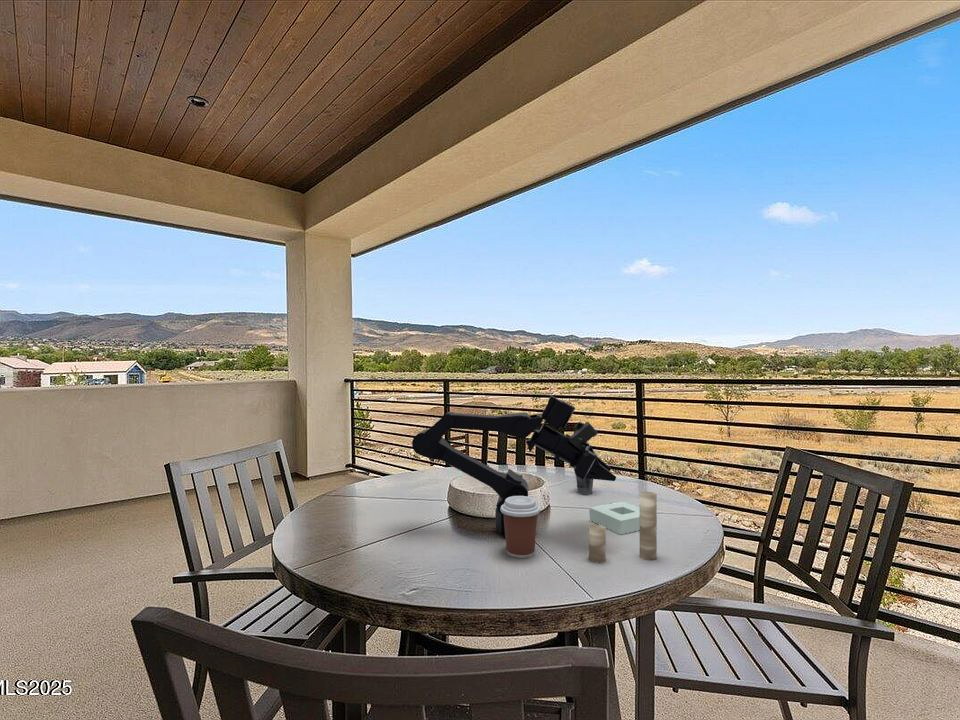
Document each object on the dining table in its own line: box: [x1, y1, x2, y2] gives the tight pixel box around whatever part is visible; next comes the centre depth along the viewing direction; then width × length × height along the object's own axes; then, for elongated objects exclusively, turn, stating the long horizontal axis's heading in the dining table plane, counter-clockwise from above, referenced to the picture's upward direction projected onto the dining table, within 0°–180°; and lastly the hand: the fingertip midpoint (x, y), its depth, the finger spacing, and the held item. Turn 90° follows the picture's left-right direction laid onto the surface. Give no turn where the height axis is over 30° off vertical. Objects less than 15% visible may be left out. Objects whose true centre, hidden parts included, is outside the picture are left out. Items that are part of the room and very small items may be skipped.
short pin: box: [588, 524, 607, 564], centre depth 109 cm, size 4×4×7 cm
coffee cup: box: [500, 495, 541, 559], centre depth 113 cm, size 9×9×12 cm
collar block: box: [589, 501, 640, 535], centre depth 132 cm, size 12×12×4 cm
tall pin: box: [639, 491, 658, 561], centre depth 110 cm, size 4×4×14 cm
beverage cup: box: [575, 446, 596, 496], centre depth 161 cm, size 7×7×20 cm
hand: (612, 474), depth 122 cm, fingers open, 9 cm apart
